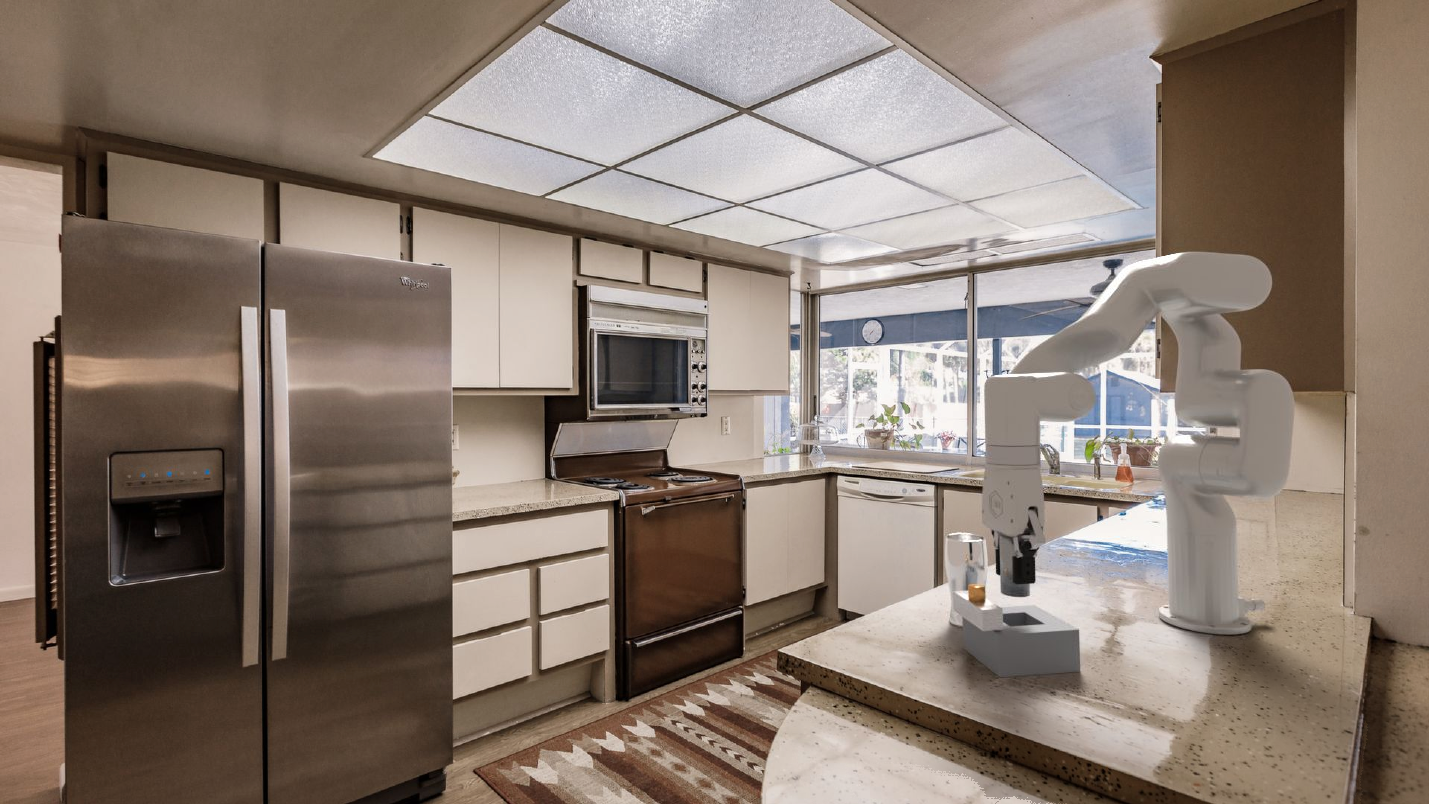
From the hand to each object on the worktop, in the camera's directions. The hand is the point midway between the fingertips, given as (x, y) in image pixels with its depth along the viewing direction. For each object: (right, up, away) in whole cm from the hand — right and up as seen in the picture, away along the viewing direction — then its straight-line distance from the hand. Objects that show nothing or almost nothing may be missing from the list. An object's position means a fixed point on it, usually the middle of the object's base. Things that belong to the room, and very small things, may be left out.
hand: (1015, 577), depth 98 cm
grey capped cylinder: (0, -2, 0) cm, 2 cm away
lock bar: (-6, -6, 0) cm, 8 cm away
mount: (+1, -12, 0) cm, 12 cm away
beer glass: (-1, -12, +16) cm, 20 cm away
